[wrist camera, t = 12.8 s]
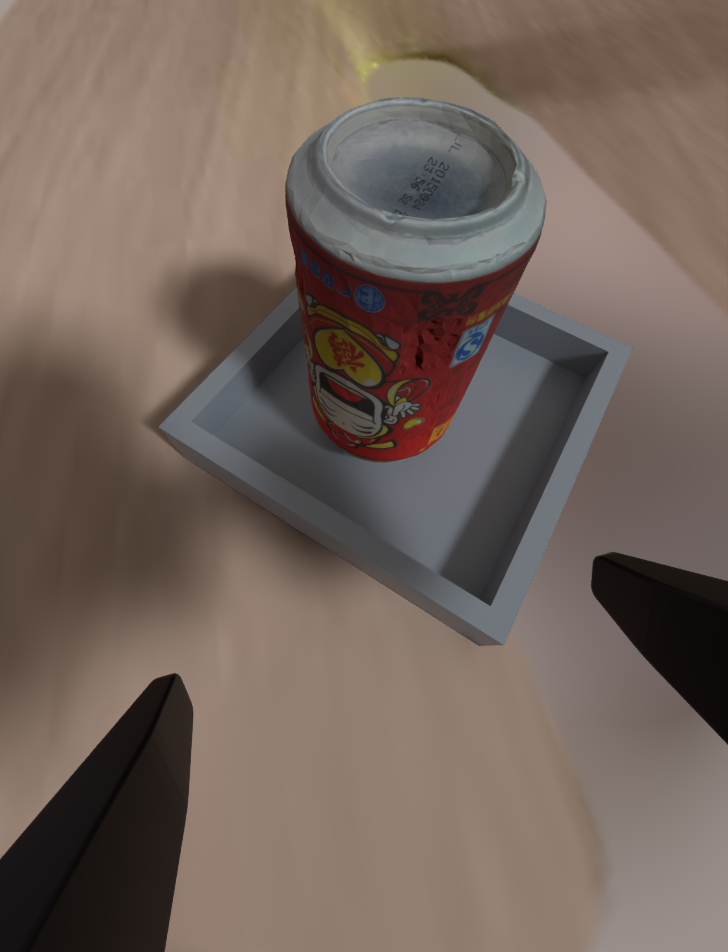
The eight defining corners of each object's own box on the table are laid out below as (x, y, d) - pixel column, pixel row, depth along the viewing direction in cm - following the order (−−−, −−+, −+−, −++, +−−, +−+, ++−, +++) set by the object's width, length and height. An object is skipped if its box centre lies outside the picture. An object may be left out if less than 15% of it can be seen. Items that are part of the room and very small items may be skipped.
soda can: (289, 445, 20) (223, 187, 9) (346, 346, 23) (351, 53, 12) (419, 498, 19) (528, 290, 8) (462, 390, 22) (588, 120, 11)
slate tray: (599, 382, 24) (632, 347, 21) (478, 645, 18) (503, 645, 15) (358, 266, 27) (359, 222, 24) (182, 456, 20) (158, 427, 18)
